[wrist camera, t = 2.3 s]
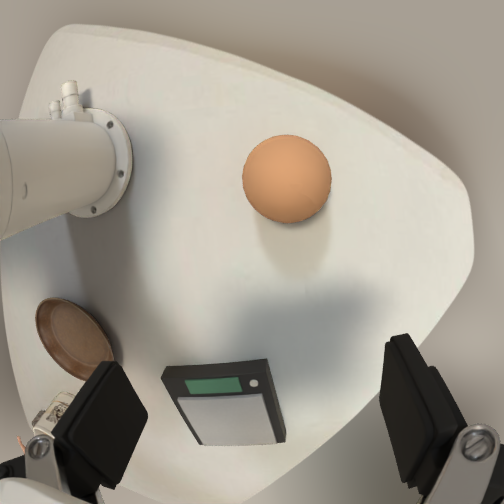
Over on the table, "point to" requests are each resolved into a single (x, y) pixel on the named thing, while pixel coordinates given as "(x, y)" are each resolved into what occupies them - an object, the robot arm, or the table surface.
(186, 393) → the scale
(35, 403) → the table surface
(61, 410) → the mug
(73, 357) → the saucer
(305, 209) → the egg
